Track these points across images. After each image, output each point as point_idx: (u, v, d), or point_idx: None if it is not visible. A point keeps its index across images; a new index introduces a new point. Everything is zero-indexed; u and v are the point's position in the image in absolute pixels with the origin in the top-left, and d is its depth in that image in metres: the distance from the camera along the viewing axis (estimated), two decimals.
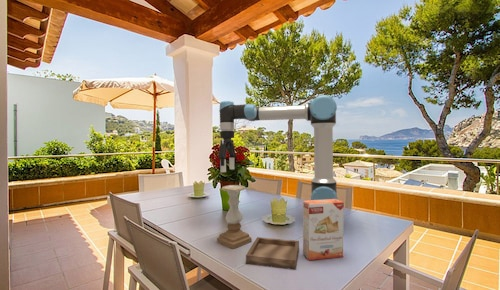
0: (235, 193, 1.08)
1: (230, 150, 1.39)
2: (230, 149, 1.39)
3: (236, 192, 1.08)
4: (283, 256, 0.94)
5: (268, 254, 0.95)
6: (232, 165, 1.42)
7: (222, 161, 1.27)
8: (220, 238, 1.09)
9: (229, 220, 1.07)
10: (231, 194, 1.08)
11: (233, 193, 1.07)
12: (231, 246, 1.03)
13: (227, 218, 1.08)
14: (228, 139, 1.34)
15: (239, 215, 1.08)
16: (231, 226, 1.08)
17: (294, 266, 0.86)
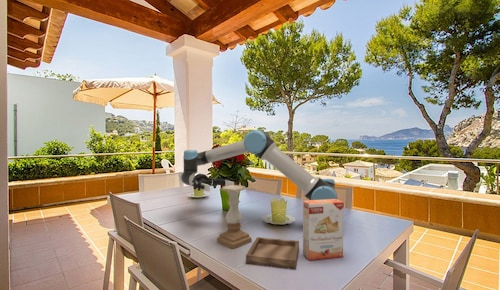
0: (235, 193, 1.08)
1: (216, 182, 1.28)
2: (215, 181, 1.28)
3: (236, 192, 1.08)
4: (283, 256, 0.94)
5: (268, 254, 0.95)
6: (230, 183, 1.23)
7: (199, 186, 1.16)
8: (220, 238, 1.09)
9: (229, 220, 1.07)
10: (231, 194, 1.08)
11: (233, 193, 1.07)
12: (231, 246, 1.03)
13: (227, 218, 1.08)
14: (201, 179, 1.29)
15: (239, 215, 1.08)
16: (231, 226, 1.08)
17: (294, 266, 0.86)
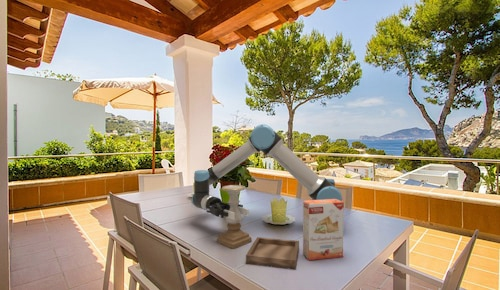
0: (235, 193, 1.08)
1: (229, 207, 1.17)
2: (228, 206, 1.17)
3: (236, 192, 1.08)
4: (283, 256, 0.94)
5: (268, 254, 0.95)
6: (244, 210, 1.10)
7: (223, 213, 1.07)
8: (220, 238, 1.09)
9: (229, 220, 1.07)
10: (231, 194, 1.08)
11: (233, 193, 1.07)
12: (231, 246, 1.03)
13: (227, 218, 1.08)
14: (213, 204, 1.20)
15: (239, 215, 1.08)
16: (231, 225, 1.08)
17: (294, 266, 0.86)
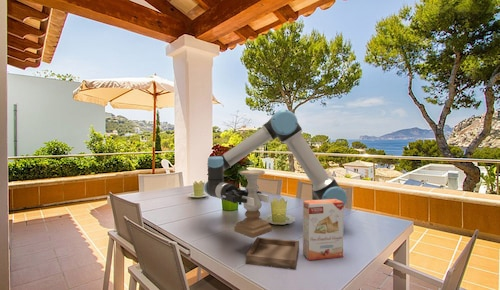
0: (254, 178, 0.99)
1: (246, 194, 1.08)
2: (245, 193, 1.09)
3: (255, 176, 0.99)
4: (283, 256, 0.94)
5: (268, 254, 0.95)
6: (263, 197, 1.01)
7: (241, 199, 0.99)
8: (238, 227, 1.00)
9: (248, 207, 0.98)
10: (250, 179, 0.99)
11: (252, 178, 0.99)
12: (251, 235, 0.95)
13: (245, 205, 0.99)
14: (229, 191, 1.11)
15: (258, 202, 1.00)
16: (250, 213, 0.99)
17: (294, 266, 0.86)
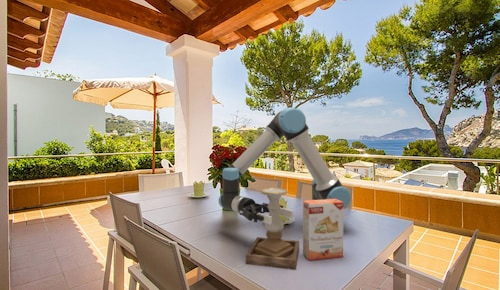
0: (277, 197, 0.94)
1: (267, 208, 1.04)
2: (265, 208, 1.04)
3: (278, 196, 0.94)
4: None
5: None
6: (286, 212, 0.98)
7: (257, 217, 0.93)
8: (258, 248, 0.95)
9: (270, 228, 0.93)
10: (272, 198, 0.94)
11: (274, 197, 0.94)
12: None
13: (267, 226, 0.94)
14: (248, 205, 1.06)
15: (281, 222, 0.95)
16: (272, 234, 0.94)
17: (294, 266, 0.86)
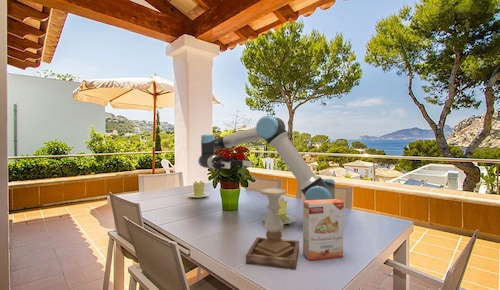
0: (276, 197, 0.94)
1: (234, 162, 1.35)
2: (232, 162, 1.36)
3: (277, 196, 0.94)
4: None
5: None
6: (247, 162, 1.31)
7: (220, 164, 1.24)
8: (258, 249, 0.95)
9: (270, 228, 0.93)
10: (271, 198, 0.94)
11: (274, 197, 0.94)
12: None
13: (267, 226, 0.94)
14: (219, 160, 1.37)
15: (280, 222, 0.95)
16: (272, 235, 0.94)
17: (294, 266, 0.86)
